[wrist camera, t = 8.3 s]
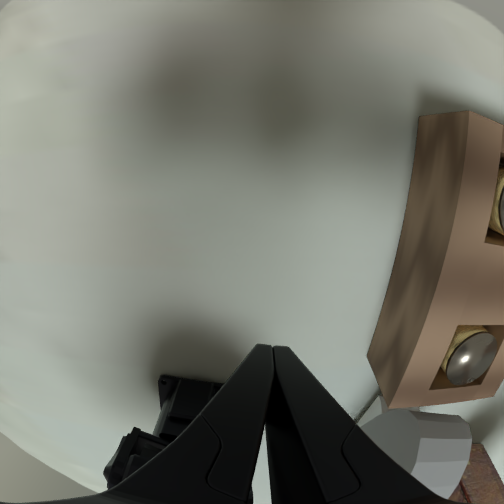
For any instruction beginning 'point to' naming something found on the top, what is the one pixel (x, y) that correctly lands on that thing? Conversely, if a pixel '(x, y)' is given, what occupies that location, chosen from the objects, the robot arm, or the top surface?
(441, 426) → the alarm clock
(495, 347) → the brass peg
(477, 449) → the brown wooden case
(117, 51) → the top surface
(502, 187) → the brass peg
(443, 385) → the walnut block
